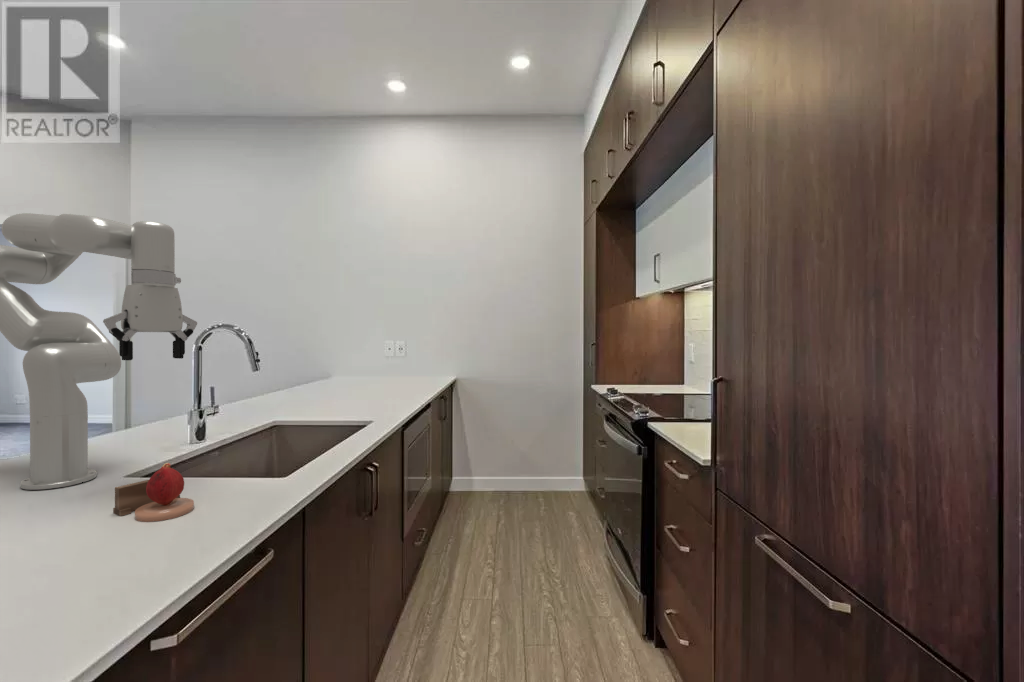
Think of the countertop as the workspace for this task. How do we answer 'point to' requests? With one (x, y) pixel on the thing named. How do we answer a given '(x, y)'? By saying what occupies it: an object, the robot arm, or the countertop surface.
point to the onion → (165, 485)
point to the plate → (164, 510)
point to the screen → (131, 497)
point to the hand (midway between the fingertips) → (153, 359)
